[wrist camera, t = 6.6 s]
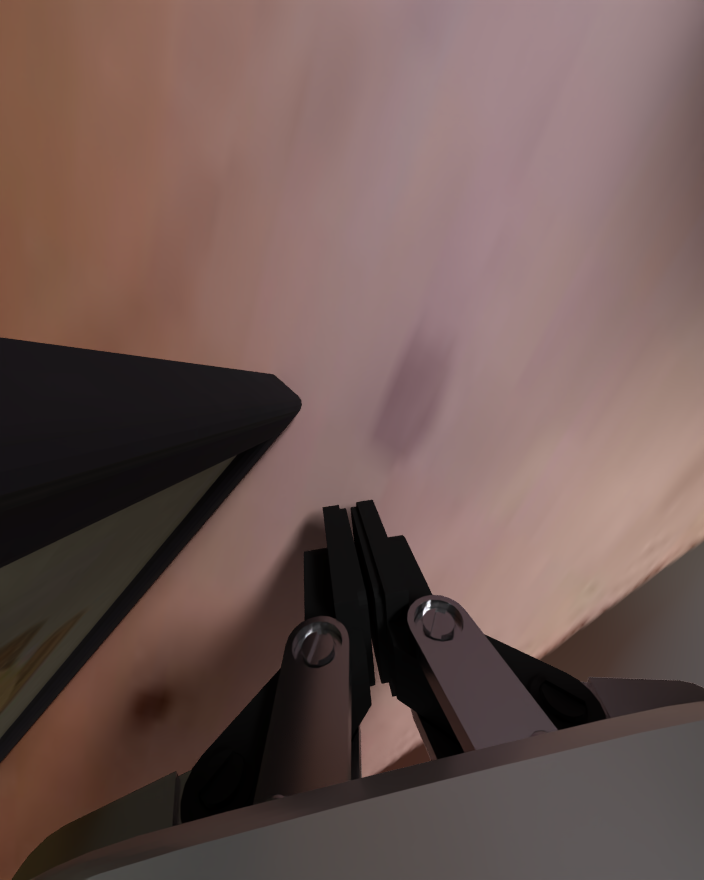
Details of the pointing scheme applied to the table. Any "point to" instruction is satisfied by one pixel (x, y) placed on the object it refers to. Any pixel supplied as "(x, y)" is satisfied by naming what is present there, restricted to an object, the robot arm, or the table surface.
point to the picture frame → (106, 494)
